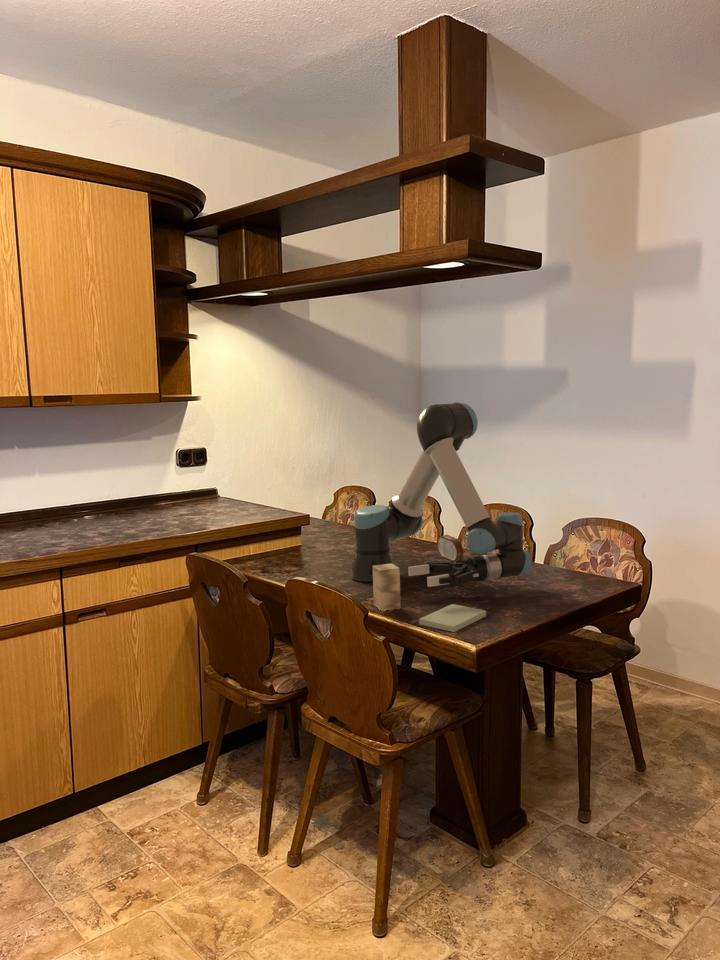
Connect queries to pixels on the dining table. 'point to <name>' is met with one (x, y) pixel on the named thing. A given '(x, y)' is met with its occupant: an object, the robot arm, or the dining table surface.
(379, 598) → the maple block
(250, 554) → the dining table surface
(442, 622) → the sage board
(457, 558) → the tin
